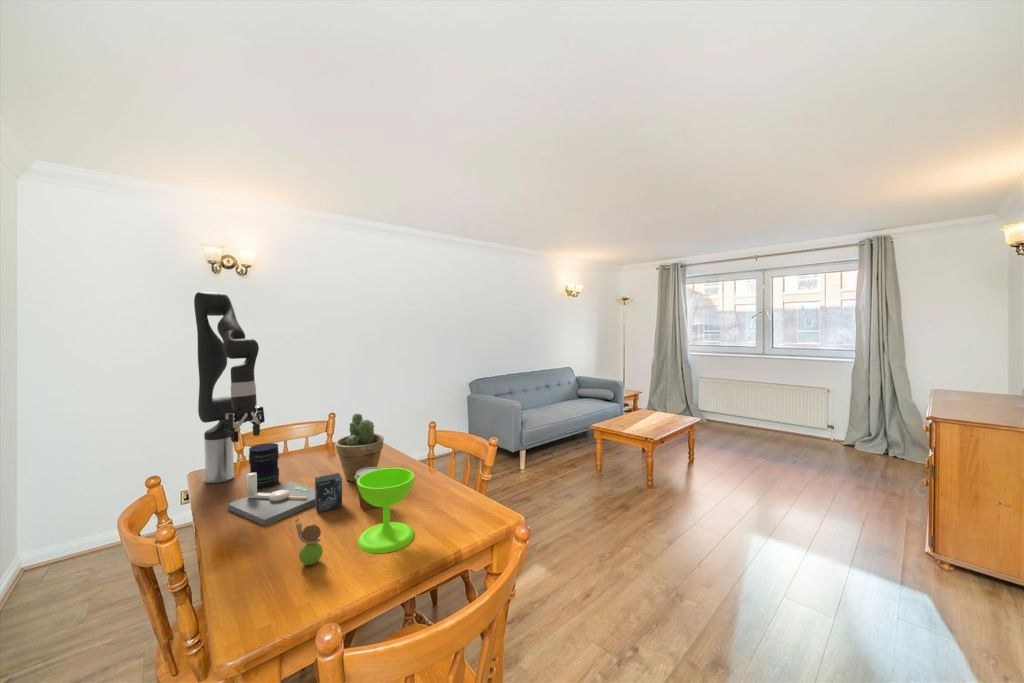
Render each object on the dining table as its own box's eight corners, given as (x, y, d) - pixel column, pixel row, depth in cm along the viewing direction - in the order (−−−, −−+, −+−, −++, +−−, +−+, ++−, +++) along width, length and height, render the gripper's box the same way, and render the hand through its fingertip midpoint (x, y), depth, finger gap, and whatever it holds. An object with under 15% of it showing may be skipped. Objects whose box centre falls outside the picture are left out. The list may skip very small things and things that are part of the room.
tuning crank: (311, 495, 139) (311, 472, 138) (301, 502, 133) (301, 479, 132) (254, 492, 140) (253, 470, 140) (241, 500, 134) (241, 477, 134)
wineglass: (356, 530, 120) (355, 472, 119) (410, 520, 126) (409, 464, 125) (358, 558, 105) (357, 492, 104) (418, 545, 111) (418, 483, 111)
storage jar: (282, 478, 160) (281, 442, 159) (275, 487, 150) (275, 449, 150) (253, 481, 157) (253, 444, 156) (245, 491, 147) (244, 451, 147)
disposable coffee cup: (390, 502, 138) (389, 468, 138) (369, 514, 130) (369, 478, 129) (369, 497, 142) (369, 464, 142) (348, 508, 134) (348, 473, 133)
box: (317, 513, 130) (316, 482, 130) (315, 507, 135) (314, 476, 134) (342, 507, 134) (342, 477, 134) (339, 501, 139) (339, 472, 139)
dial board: (227, 509, 132) (227, 503, 132) (291, 486, 152) (291, 480, 151) (264, 526, 122) (264, 519, 122) (328, 499, 141) (327, 492, 141)
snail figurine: (301, 557, 105) (300, 514, 105) (325, 556, 106) (325, 513, 105) (291, 570, 100) (290, 524, 99) (317, 569, 100) (317, 523, 100)
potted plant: (393, 474, 165) (392, 415, 164) (354, 489, 149) (354, 424, 148) (365, 465, 174) (364, 410, 173) (326, 479, 159) (325, 418, 158)
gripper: (252, 391, 149) (254, 433, 149) (216, 397, 135) (219, 444, 136) (268, 391, 148) (270, 433, 148) (234, 397, 134) (236, 444, 134)
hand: (246, 438), depth 142 cm, fingers open, 8 cm apart
